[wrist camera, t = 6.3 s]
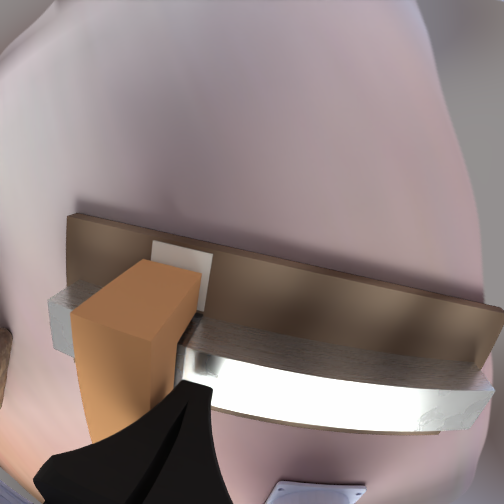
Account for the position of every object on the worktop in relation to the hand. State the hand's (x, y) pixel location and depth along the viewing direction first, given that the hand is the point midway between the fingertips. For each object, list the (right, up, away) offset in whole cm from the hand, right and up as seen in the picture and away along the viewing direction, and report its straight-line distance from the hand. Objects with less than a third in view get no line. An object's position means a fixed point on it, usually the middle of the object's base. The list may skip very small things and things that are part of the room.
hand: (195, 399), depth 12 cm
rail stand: (+4, +1, +5) cm, 6 cm away
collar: (-2, +2, +4) cm, 5 cm away
